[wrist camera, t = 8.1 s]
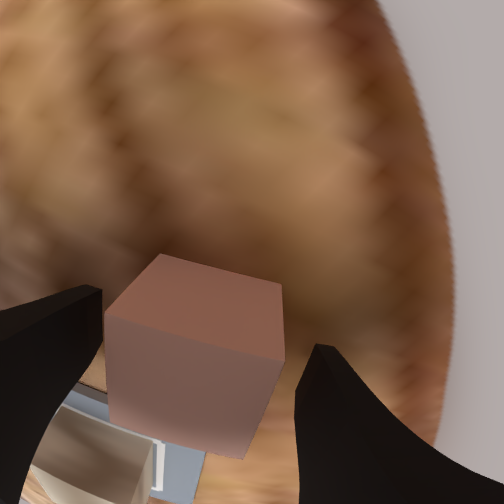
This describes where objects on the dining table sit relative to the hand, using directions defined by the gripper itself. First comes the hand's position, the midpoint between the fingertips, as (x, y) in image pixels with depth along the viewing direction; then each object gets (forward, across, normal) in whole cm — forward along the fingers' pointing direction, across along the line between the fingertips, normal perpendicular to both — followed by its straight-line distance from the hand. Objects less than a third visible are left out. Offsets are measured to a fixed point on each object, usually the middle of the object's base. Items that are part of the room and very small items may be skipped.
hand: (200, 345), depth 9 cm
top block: (+2, 0, 0) cm, 2 cm away
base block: (+1, +4, +10) cm, 10 cm away
